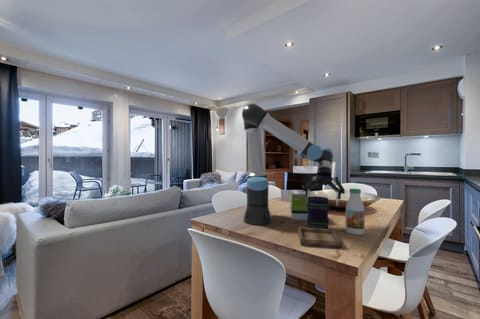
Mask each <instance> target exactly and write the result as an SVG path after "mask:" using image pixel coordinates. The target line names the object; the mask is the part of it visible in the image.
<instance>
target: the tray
mask: <svg viewBox="0 0 480 319" xmlns="http://www.w3.org/2000/svg"><path fill="white" fill-rule="evenodd" d="M297 229H298V230H297V231H298V232H297V233H298V237H299V243H300V246H304V247H306V246H308V247H319V248H331V249H332V248H334V249H342V247H343V246H342V244H343V243H342V239H340V237H339V236H338V234H337V233H336V231H335V230H334V229H330V228H328V229H318V228H307V227H301V226H300V227H299V226H298V228H297Z"/></svg>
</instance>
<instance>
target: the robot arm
mask: <svg viewBox="0 0 480 319" xmlns="http://www.w3.org/2000/svg"><path fill="white" fill-rule="evenodd" d="M241 117H242V120H243V126H244V129H243V130H244V131H245V132H246V133H247V147H248V160H249V174H247V180H246V207H245V212H244V215H243V222H244V223H246V224H249V225H253V226H255V225H256V226H257V225H258V226H259V225H260V226H261V225H262V226H263V225H269V224H271V223H272V217H273V216H272V214H271V211H270V207H269V185H270V183H269V179H268V173H267V172H265V164H264V163H265V161H264V149H263V136H262V133H263V131H264V130H265V131H266V132H268V133H269V134H271V136H272V135H273V136H274V137H276V138H277V139H279V140H280V141H282V142H283V143H284V144H286V145H288V146H289V147H291V148H293V149H294V150H296V151H297V152H298V153H297V157H299V158H301V159H305V160H308V161H312V162H314V163H317V172H316V176H313V175H310V176H309V177H310V178H309V179H308V180H307V181H306V182H305V184H304V185H303V186H302V190H303V191H306V194H305V195H306V197H311V191H312V190H314V189H315V188H316V187H318V186H319V185H320V186H328V187H330V188H331V189H332V190H333V191H334V192H335V193H336V194H335V195H336V197H335V202H336V203H335V204H336V205H335V206H336V207H338V206H339V200H341V198H342V194H343V195H344V194H346V192H345V191H346V189H344V186H343V185H342V184H341V182H340V180H339V177H338V176H335V177H333V176H332V175H333V159H334V156H333V155H334V154H333V150H332V149H331V148H330V147H321V146H319V145H316V144H314V143H312V142H311V141H309V140H308V139H307V138H305V137H303V136H301V135H300V134H299V133H297V132H296V131H294V130H293V129H290V128H289V127H287V126H286V125H285V124H284V123H282V122H280V121H279V120H277V119H275V117H273V116H271V115H270V113H269V112H268V111H267V110H266V109H264V108H262V106H259V105H258V104H256V103H249V104H247V105H245V106H244V108H243V109H242V112H241ZM333 182H334V183H333ZM307 200H308V199H307ZM307 203H308V202H307Z"/></svg>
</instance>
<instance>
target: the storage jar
mask: <svg viewBox="0 0 480 319" xmlns="http://www.w3.org/2000/svg"><path fill="white" fill-rule="evenodd" d="M307 199H308V200H307V202H308V203H307V209H308V217H307V220H306V225H307V227H306V228H318V229H329V224H330V222H329V206H330V205H329V200H330V199H329V198H328V197H325V196H316V195H313V196H310V197H307Z"/></svg>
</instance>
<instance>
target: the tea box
mask: <svg viewBox="0 0 480 319" xmlns="http://www.w3.org/2000/svg"><path fill="white" fill-rule="evenodd" d="M305 194H306V191H303V189H293V190H292V189H290V190H289V208H290V209H289V211H290V212H289V213H290V216H291V220H294V221H307V217H308V209H307V197H306V195H305Z"/></svg>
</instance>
